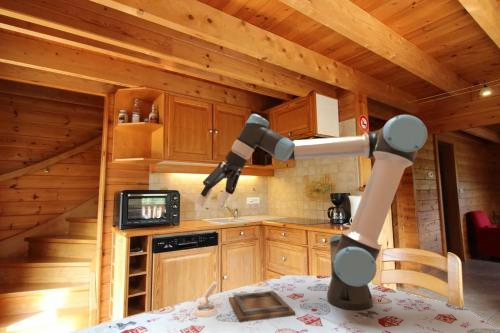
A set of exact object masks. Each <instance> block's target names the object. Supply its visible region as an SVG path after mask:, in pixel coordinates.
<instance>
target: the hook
mask: <svg viewBox="0 0 500 333" xmlns="http://www.w3.org/2000/svg"><path fill="white" fill-rule="evenodd" d="M216 287H218V282H217V281H216V280H214V281H213V282H212V283H211V284H210V285H209V287H208V288H207V290H206V291H205V293H204V294H203V295H202V297H201V301H199V304H198V305H196V307H195V309H194V311H193V315H194V316H195V317H199V318H209V317H213V316H215V315H217V314H218V312H219V311H218V307H217V306H216V305H215V304H213V303H210V301H209V297H211V294H212V293H213V292H214V290H215V289H216ZM206 308H207V309H208V310H201V309H206Z"/></svg>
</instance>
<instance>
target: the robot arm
mask: <svg viewBox="0 0 500 333" xmlns="http://www.w3.org/2000/svg"><path fill="white" fill-rule="evenodd" d="M269 126H270V122H269V121H268V120H267V119H266V118H264V117H262V116H261V115H259V114H257V113H251V115H249V118H248V119H247V121H246V122H245V123H244V125H243V127H242V129H241V131H240V132H239V134H238V136H237V137H236V140H235V141H233V144H232V146H231V149H230V150H229V151H228V152H227V154H226V156H225V160H226V162H224V161H220V162H219V164H218V165H217V166H216V168H214V170H212V171H211V173H210V174H209V175H208V176H207V177H206V178H205V179H204V180H203V182H202V184H203V185H204V188H203V189H202V191H201V192H200V194H199V196H198V198H197V199H196V200H195V203H196V204H198V205H199V206H200V207H204V205H205V203H206V201H207V200H208V199H209V196H210V194H212V192H213V189H212V188H214V187H215V186H216V185H218V184H219V183H220V182H222V180H224V179H226V182H225V188H224V190H222V192H221V194H220V195H219V198H218V199H217V200H216V203H215V204H214V205H215V206H216V207H218V208H219V209H222V208H223V206H224V204H225V202H226V200H227V199H228V197H229V196H230V195H233V194H234V193H235V190H236V187H237V185H238V181H239V180H240V177H241V174H242V170H243V169H244V168H245V166H246V165H247V163H248V160H249V159H250V158H251V157H252V154H253V152H255V150H256V148H257V147H258V148H259V149H261V150H263V151H264V152H267V153H268V154H270V155H271V156H272V158H274V160H277V161H278V162H286V161H292V160H308V159H311V160H312V159H327V158H331V159H332V158H348V157H364V158H365V159H375V161H374V163H373V166H372V168H371V172H370V174H369V177H368V179H367V181H366V184H365V188H364V189H363V193H362V194H361V197H360V200H359V203H358V206H357V207H356V208H357V209H356V210H355V214H354V216H353V218H352V221H351V224H350V227H349V228H348V229H347V230H345V231H343V232H342V233H341V234H339V235H337V234H332V235H331V236H330V237H329V246H330V248H329V249H330V269H331V270H330V272H331V274H330V275H331V276H330V277H331V279H330V282H329V286H328V288H327V292H326V297H327V298H326V299H327V301H328V302H329V304H331V305H333V306H335V307H337V308H340V309H345V310H351V311H353V310H354V311H356V310H357V311H359V310H360V311H362V310H367V309H370V308H372V307H373V306H374V305H373V304H374V303H373V301H374V300H373V295H372V293H371V289H370V287H369V285H368V284H370V283H372V281H373V280H374V278H375V277H376V275H377V274H376V273H377V269H378V268H377V266H378V265H377V260H378V257H379V254H380V251H381V247H380V244H379V242H378V240H379V237H380V235H381V232H382V229H383V227H384V224H385V222H386V219H387V216H388V214H389V212H390V209H391V205H392V203H393V201H394V198H395V195H396V192H397V190H398V187H399V185H400V182H401V180H402V177H403V175H404V172H405V169H406V168H408V167H410V166H413V165H414V164H413V163H414V161H415V159H416V156H417V154H418V150H420V149H421V148H422V147H423V146H424V144H426V142H427V139H428V128H427V127H426V125H425V124H424V122H423V121H422V120H421V119H420V118H418V117H416V116H414V115H410V114H400V115H396V116H393V117H392V118H390V119H389V120H388V121H387V122H386V123H385V124H384V126H382V128H380V129H378V130H375V131H367V132H364V133H363V134H362V135H352V136H351V135H349V136H337V137H325V138H324V137H322V138H309V139H307V138H306V139H295V140H291V139H290V138H288V137H285V136H284V135H282V134H280V133H278V132H276V131H274V130H273V129H271V128H270V127H269Z"/></svg>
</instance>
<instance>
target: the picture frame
mask: <svg viewBox="0 0 500 333" xmlns="http://www.w3.org/2000/svg"><path fill="white" fill-rule="evenodd" d="M228 301H229V303H230V305H231V307H232V309H233V312H234V314H235V316H236V317H237V320H238V322H239V323H243V322H251V321H258V320H267V319H273V318H276V319H277V318H283V317H291V316H296V311H295V310H294V309H293V308H292V306H290V304H288V303H287V302H286V301H285V300H284V299H283V298H282V297H281V296H280V295H279V294H278V293H277V292H276V291H274V290H268V291H259V292H250V293H238V294H233V296H229V297H228Z"/></svg>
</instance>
